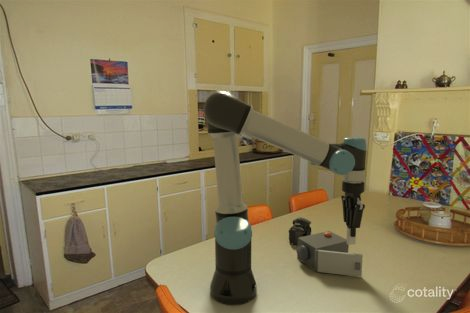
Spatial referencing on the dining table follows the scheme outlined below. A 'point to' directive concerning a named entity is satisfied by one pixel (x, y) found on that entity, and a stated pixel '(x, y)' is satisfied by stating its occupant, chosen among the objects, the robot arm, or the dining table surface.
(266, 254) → the dining table surface
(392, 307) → the dining table surface
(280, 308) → the dining table surface
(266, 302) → the dining table surface
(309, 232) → the camera
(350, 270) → the door
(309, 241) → the case
